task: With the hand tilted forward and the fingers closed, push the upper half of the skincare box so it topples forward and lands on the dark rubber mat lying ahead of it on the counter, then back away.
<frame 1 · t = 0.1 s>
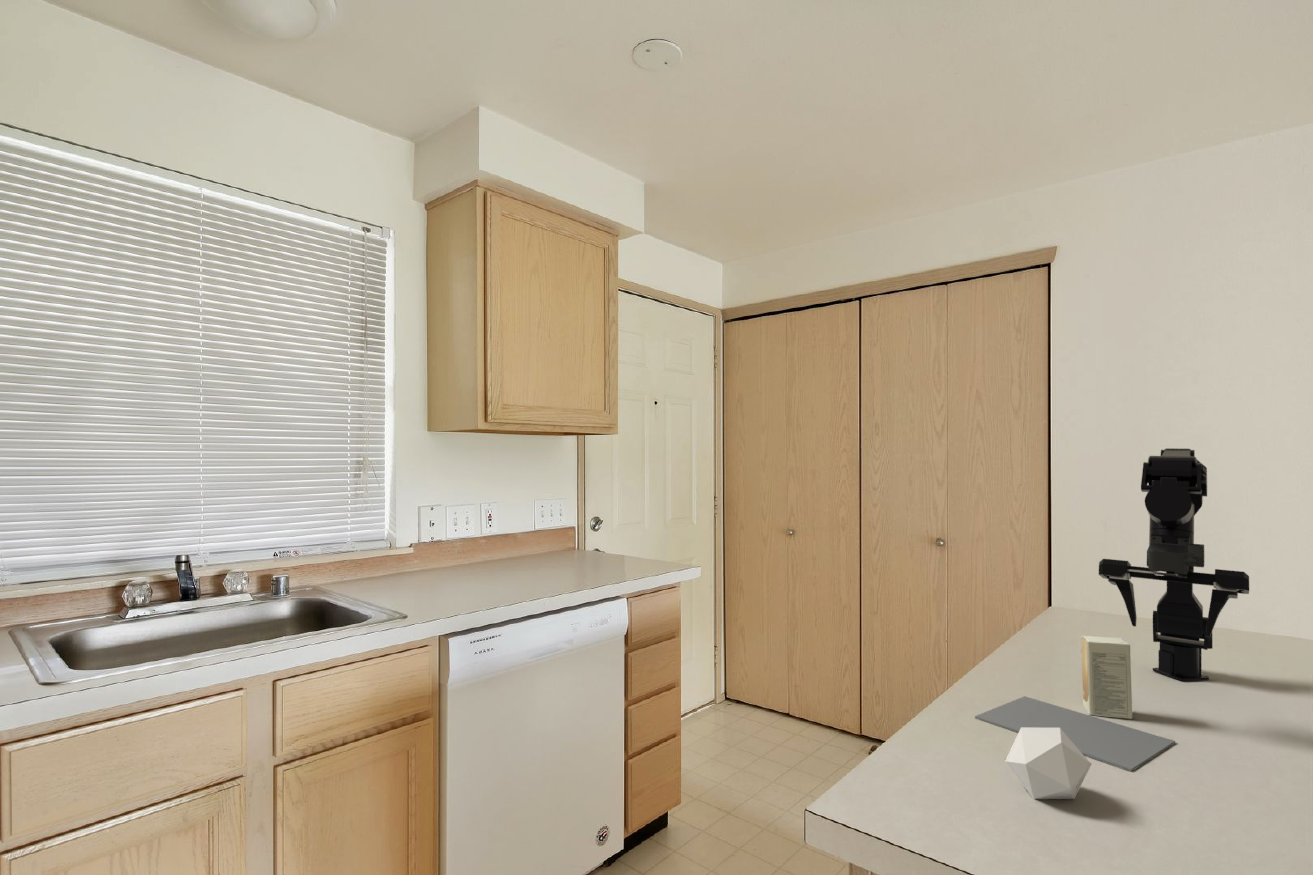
hand: (1170, 631, 106), 15 cm above the countertop, tool pointing down, fingers open, 9 cm apart
skincare box: (1106, 714, 113), on the countertop
mat: (1071, 729, 106), on the countertop
die: (1047, 794, 86), on the countertop
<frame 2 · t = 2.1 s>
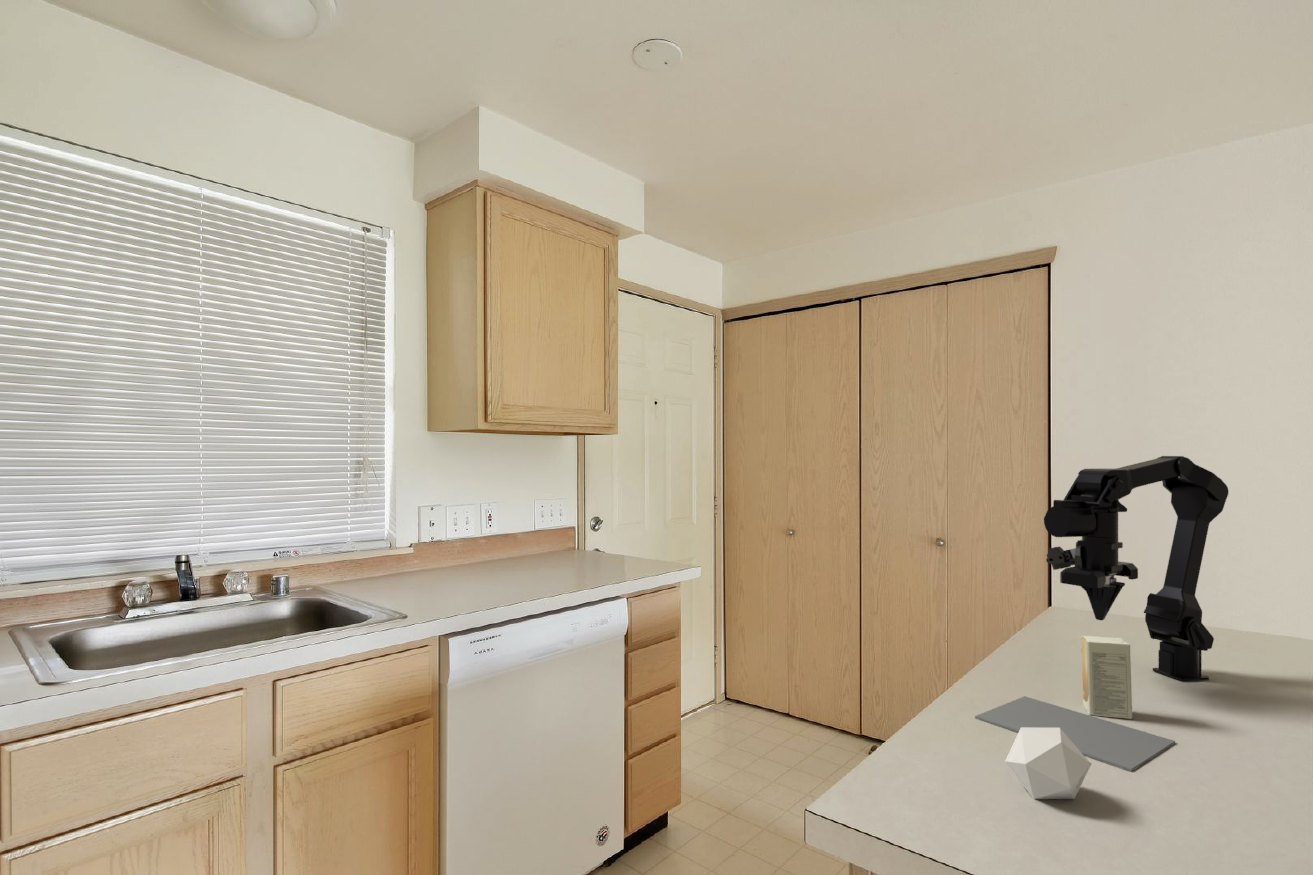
hand: (1099, 619, 127), 12 cm above the countertop, tool pointing down, fingers closed
nothing on the countertop moved.
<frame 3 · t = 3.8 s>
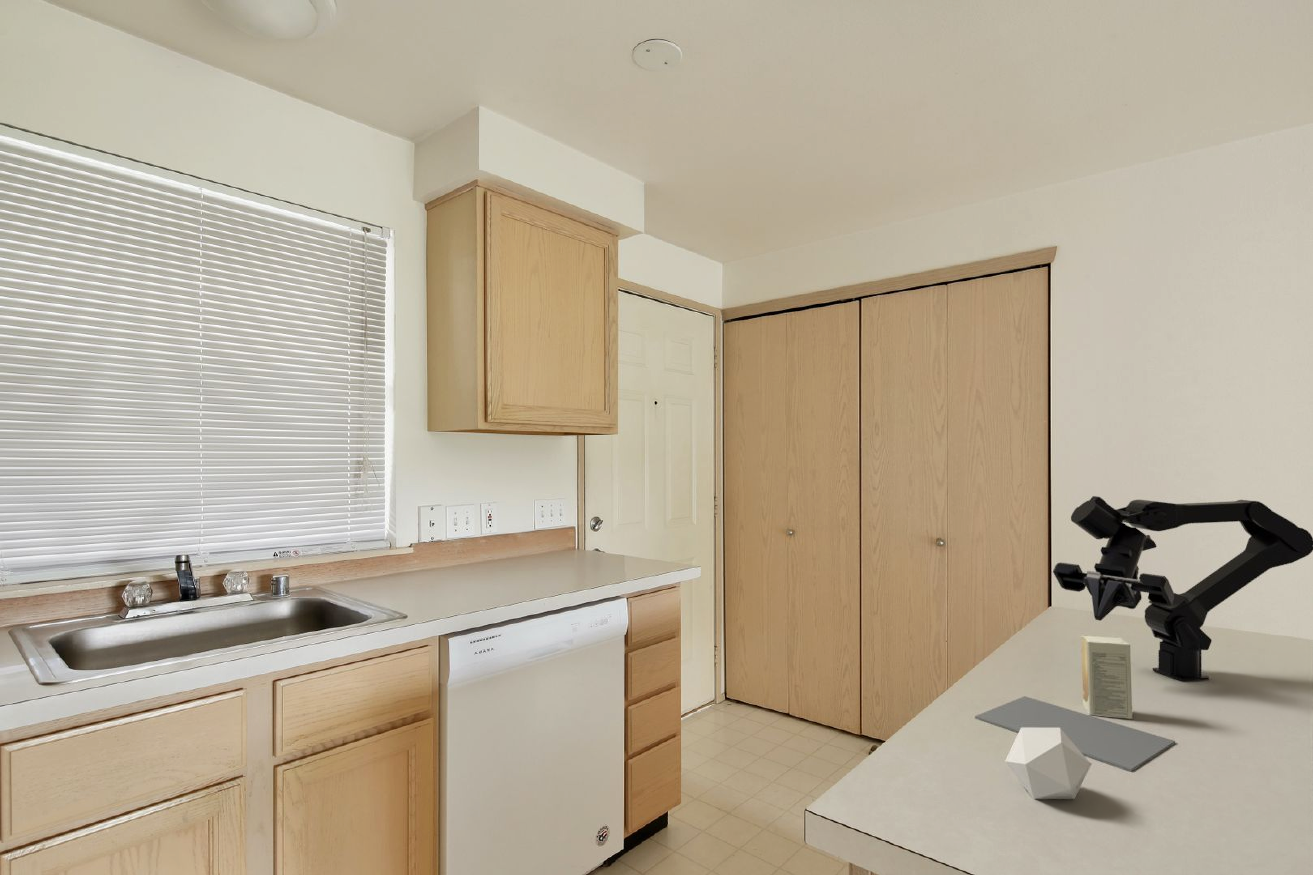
hand: (1097, 618, 126), 12 cm above the countertop, tool tilted 45°, fingers closed
nothing on the countertop moved.
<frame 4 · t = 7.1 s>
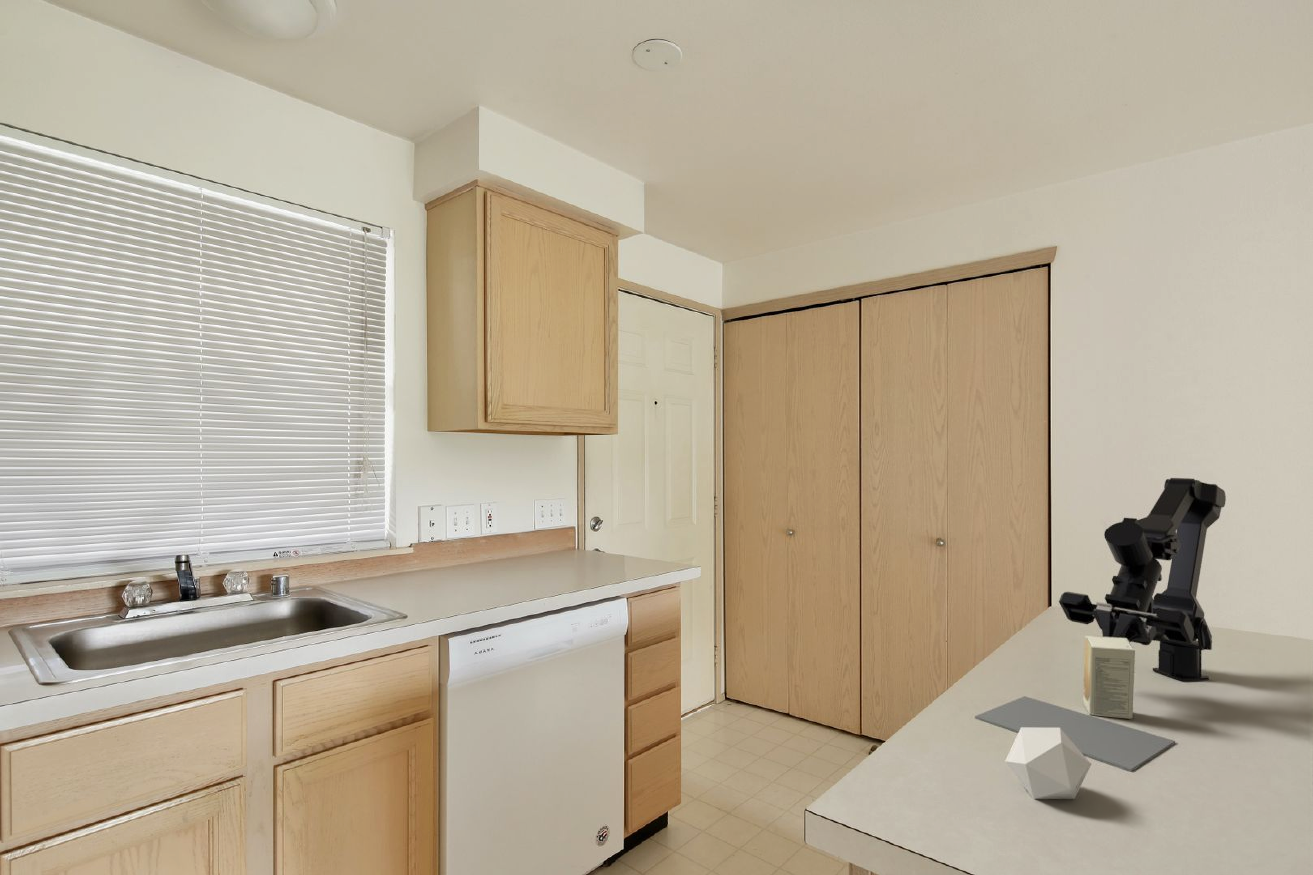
hand: (1108, 656, 113), 9 cm above the countertop, tool tilted 45°, fingers closed
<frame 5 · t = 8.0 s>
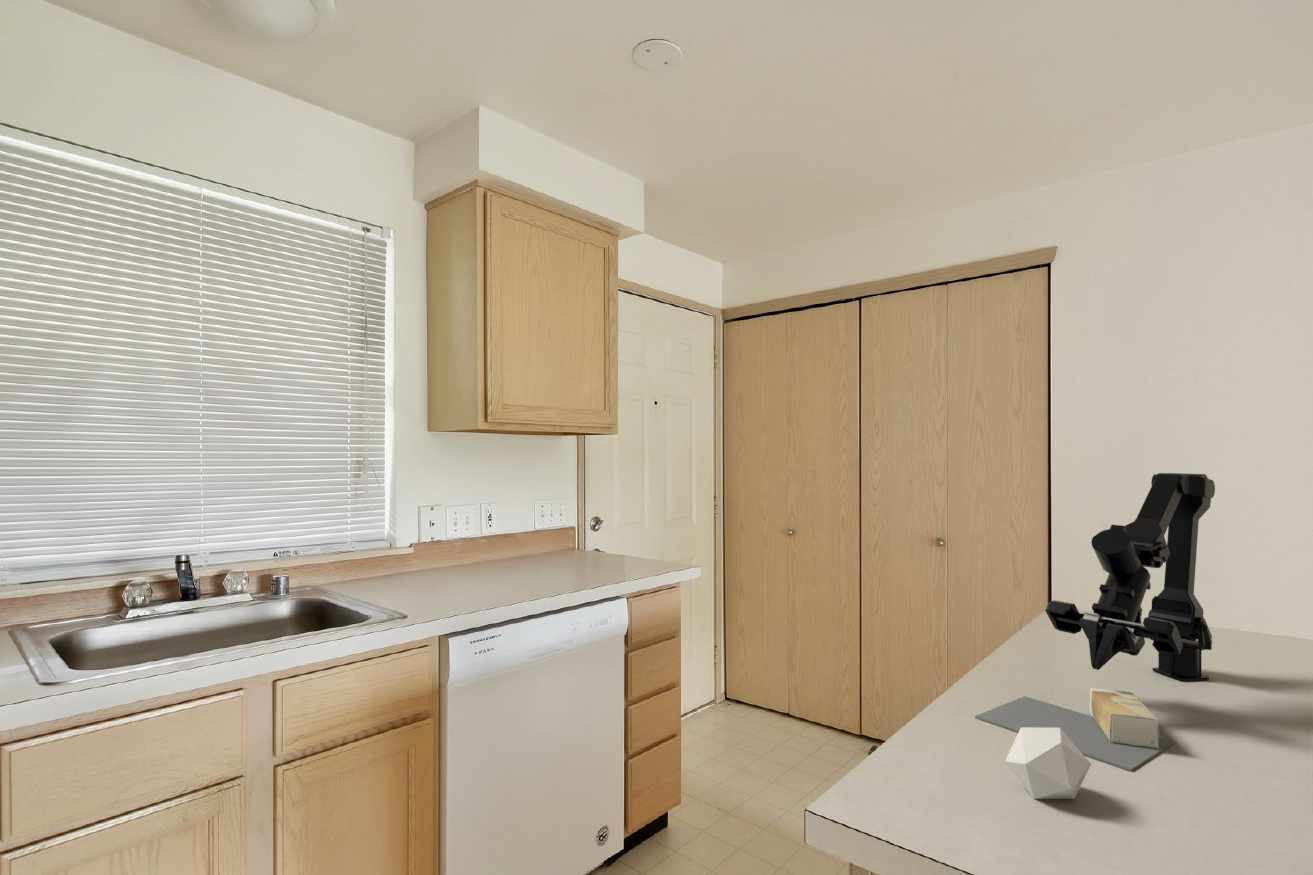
hand: (1094, 667, 110), 8 cm above the countertop, tool tilted 45°, fingers closed
skincare box: (1109, 702, 111), point 2 cm above the countertop, touching mat
everything else where it was.
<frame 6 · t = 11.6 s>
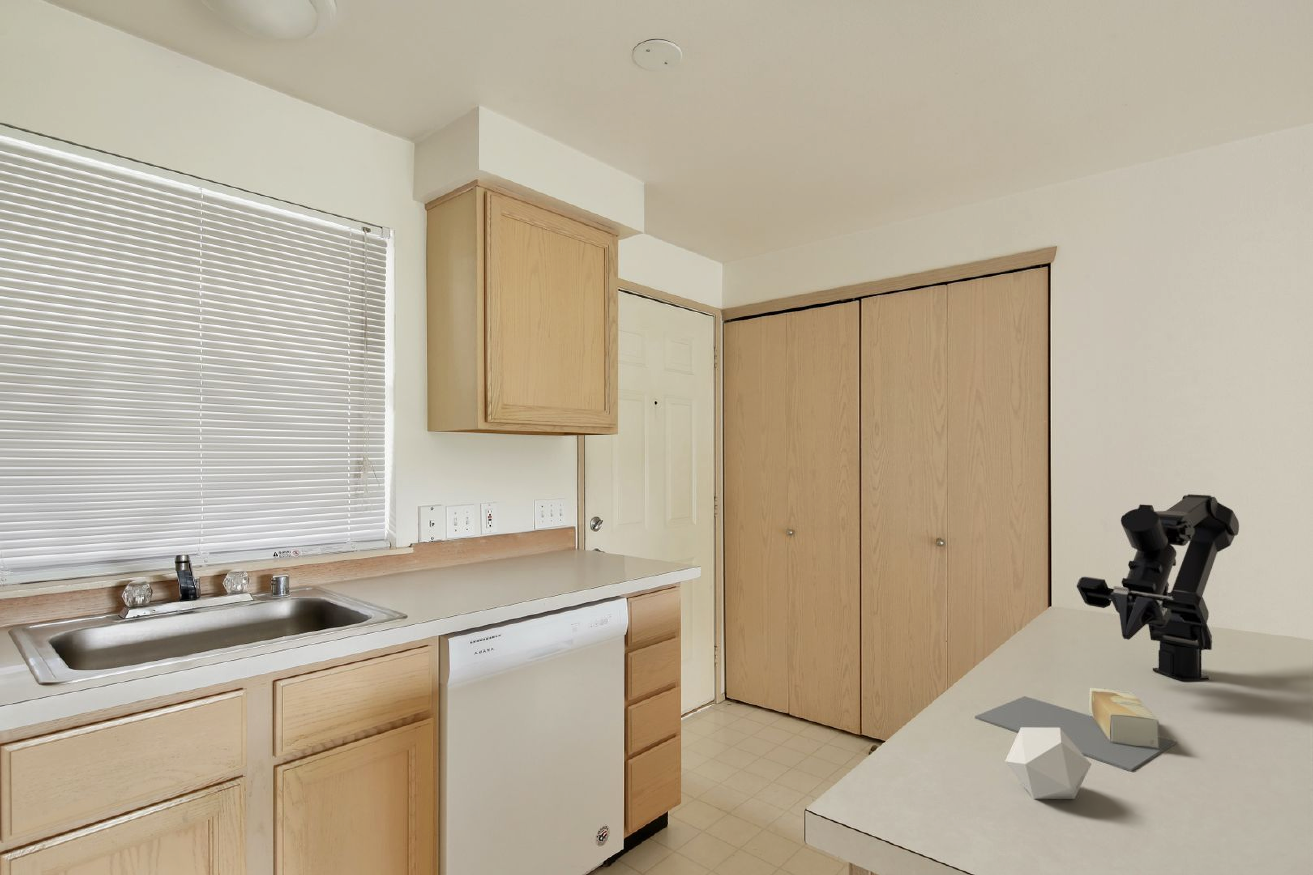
hand: (1125, 637, 118), 11 cm above the countertop, tool tilted 45°, fingers closed
nothing on the countertop moved.
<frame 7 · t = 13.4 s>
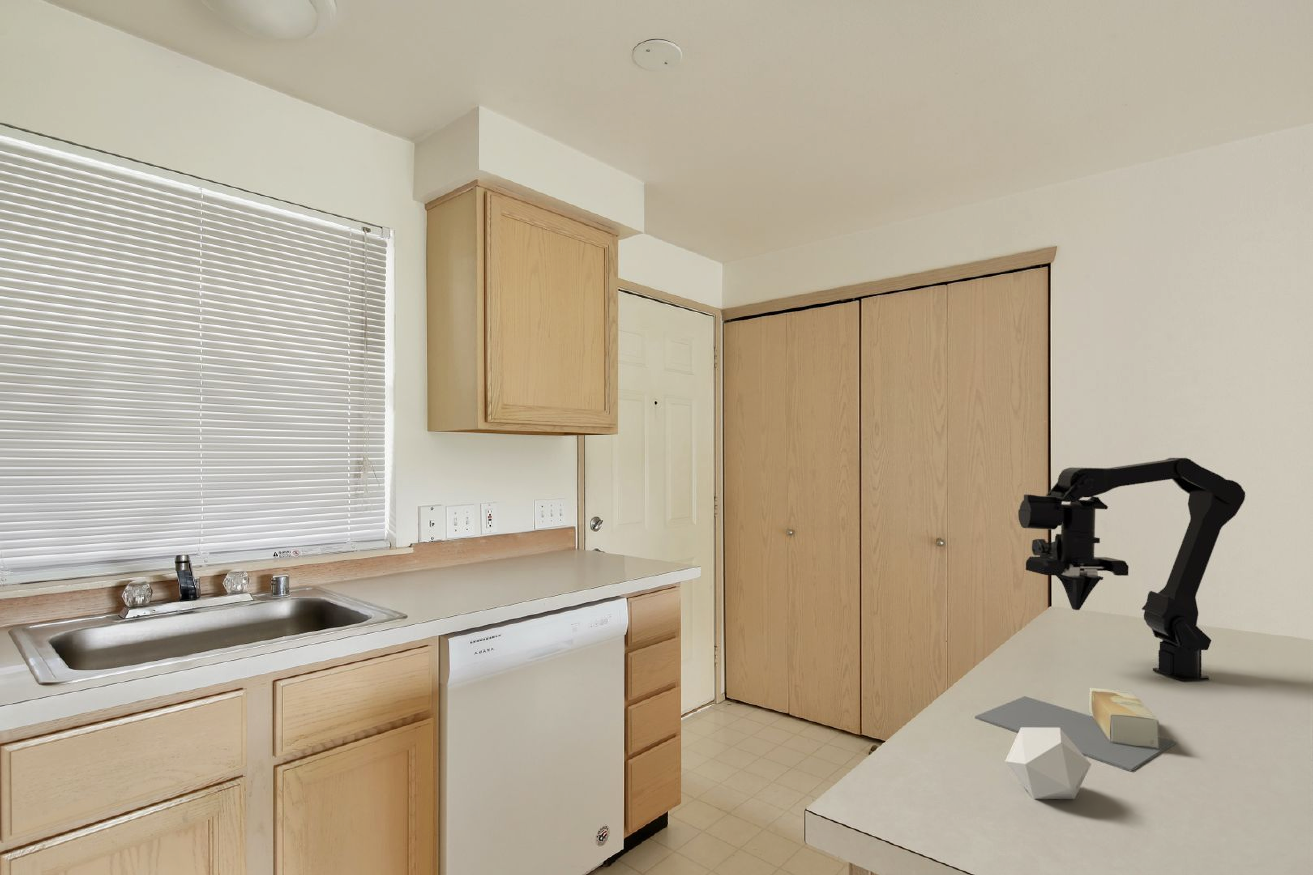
hand: (1075, 609, 135), 12 cm above the countertop, tool pointing down, fingers closed
nothing on the countertop moved.
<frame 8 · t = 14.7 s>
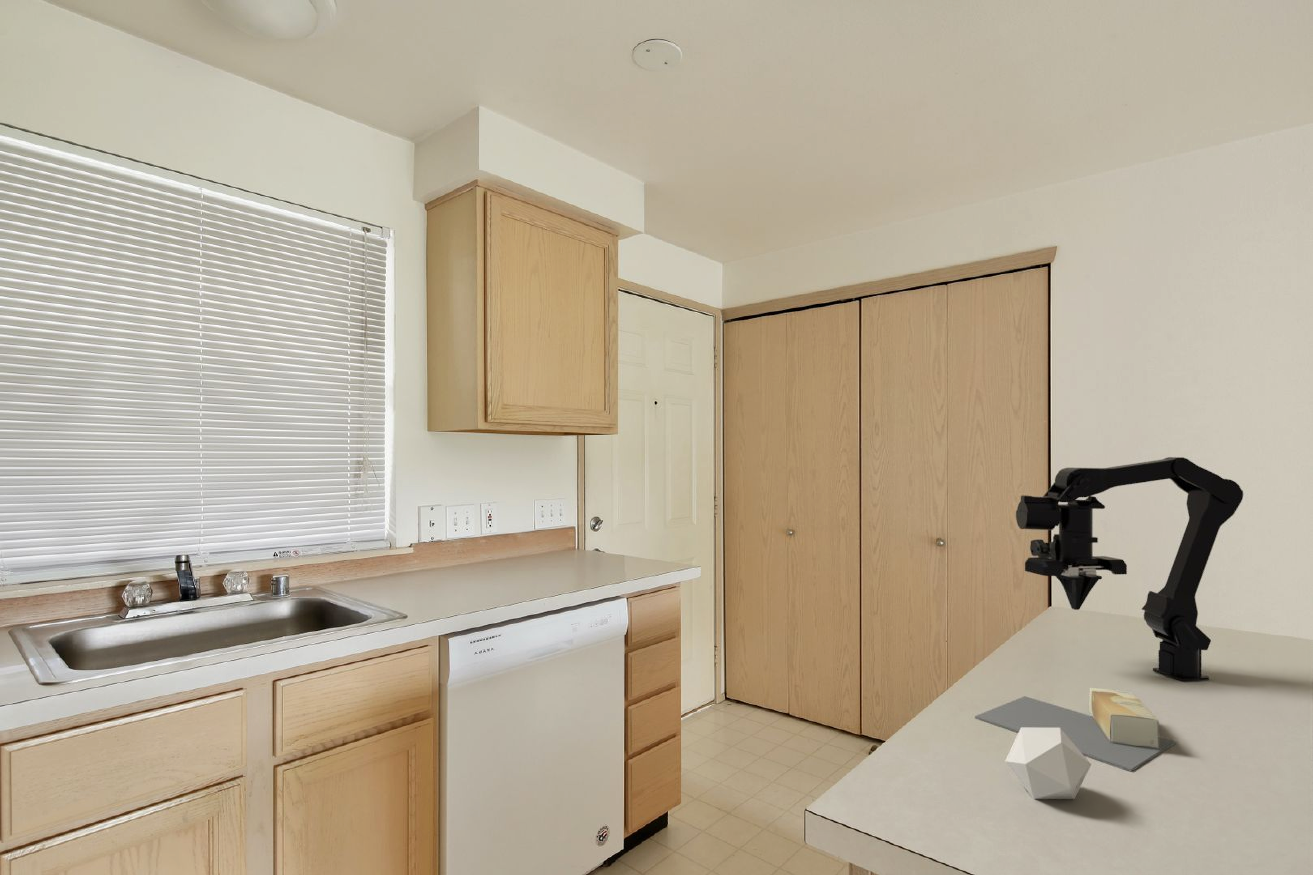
hand: (1075, 609, 135), 12 cm above the countertop, tool pointing down, fingers closed
nothing on the countertop moved.
at the end: skincare box tilted 90°; skincare box touching mat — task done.
